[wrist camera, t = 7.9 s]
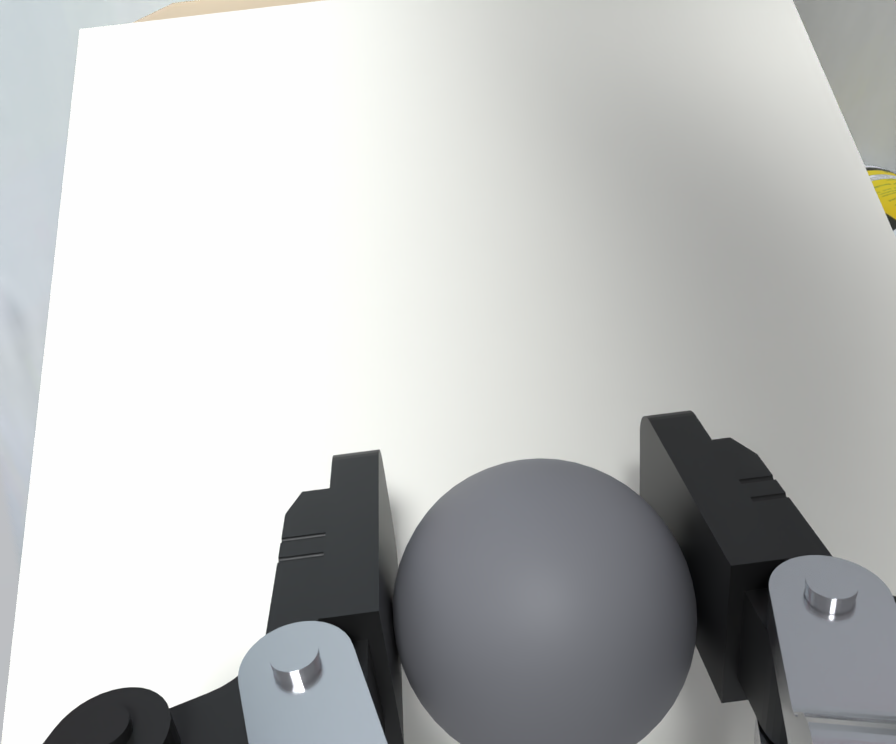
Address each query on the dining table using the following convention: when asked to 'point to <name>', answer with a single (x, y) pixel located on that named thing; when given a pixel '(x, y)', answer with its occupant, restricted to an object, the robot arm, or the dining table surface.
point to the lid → (446, 343)
